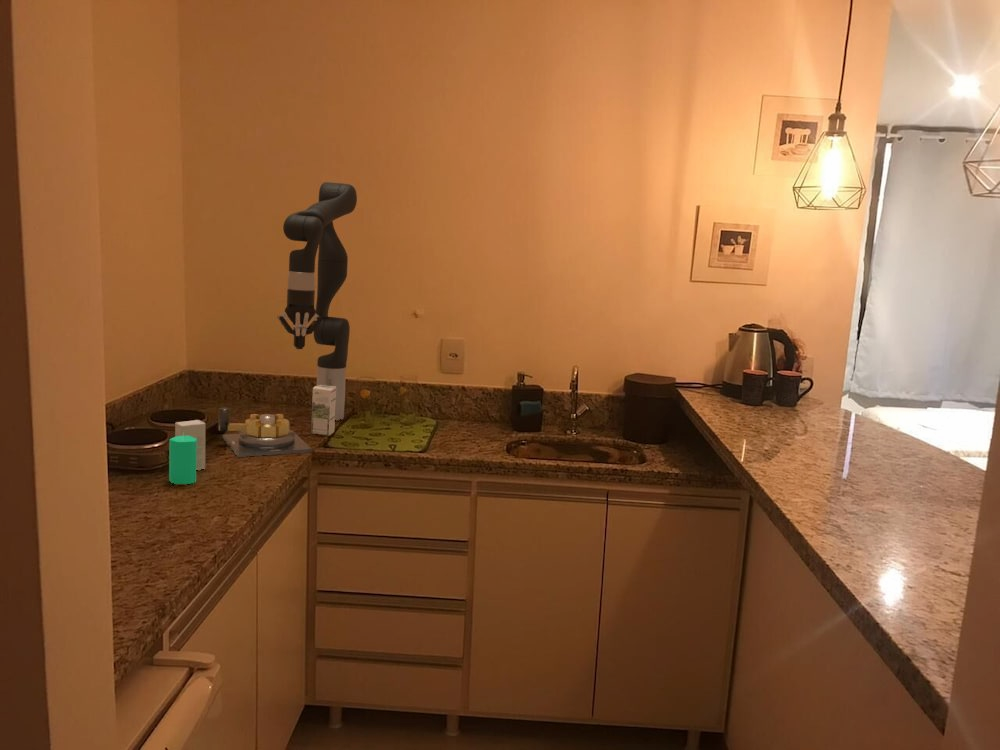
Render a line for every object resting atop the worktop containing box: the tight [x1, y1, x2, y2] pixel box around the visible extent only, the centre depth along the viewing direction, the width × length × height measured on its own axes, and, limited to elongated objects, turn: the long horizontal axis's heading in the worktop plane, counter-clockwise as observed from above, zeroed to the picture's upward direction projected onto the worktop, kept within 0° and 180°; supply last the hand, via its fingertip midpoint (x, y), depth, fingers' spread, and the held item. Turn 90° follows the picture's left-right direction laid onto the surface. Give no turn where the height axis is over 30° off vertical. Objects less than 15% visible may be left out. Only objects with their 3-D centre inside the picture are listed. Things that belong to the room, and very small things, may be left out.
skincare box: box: [174, 419, 207, 471], centre depth 191 cm, size 6×4×12 cm
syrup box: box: [310, 384, 336, 437], centre depth 234 cm, size 6×6×14 cm
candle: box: [168, 432, 197, 485], centre depth 182 cm, size 6×6×12 cm
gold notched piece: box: [218, 407, 290, 438], centre depth 216 cm, size 19×12×7 cm, turn 110°
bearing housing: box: [222, 413, 313, 458], centre depth 218 cm, size 20×20×8 cm
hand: (298, 348), depth 221 cm, fingers closed
